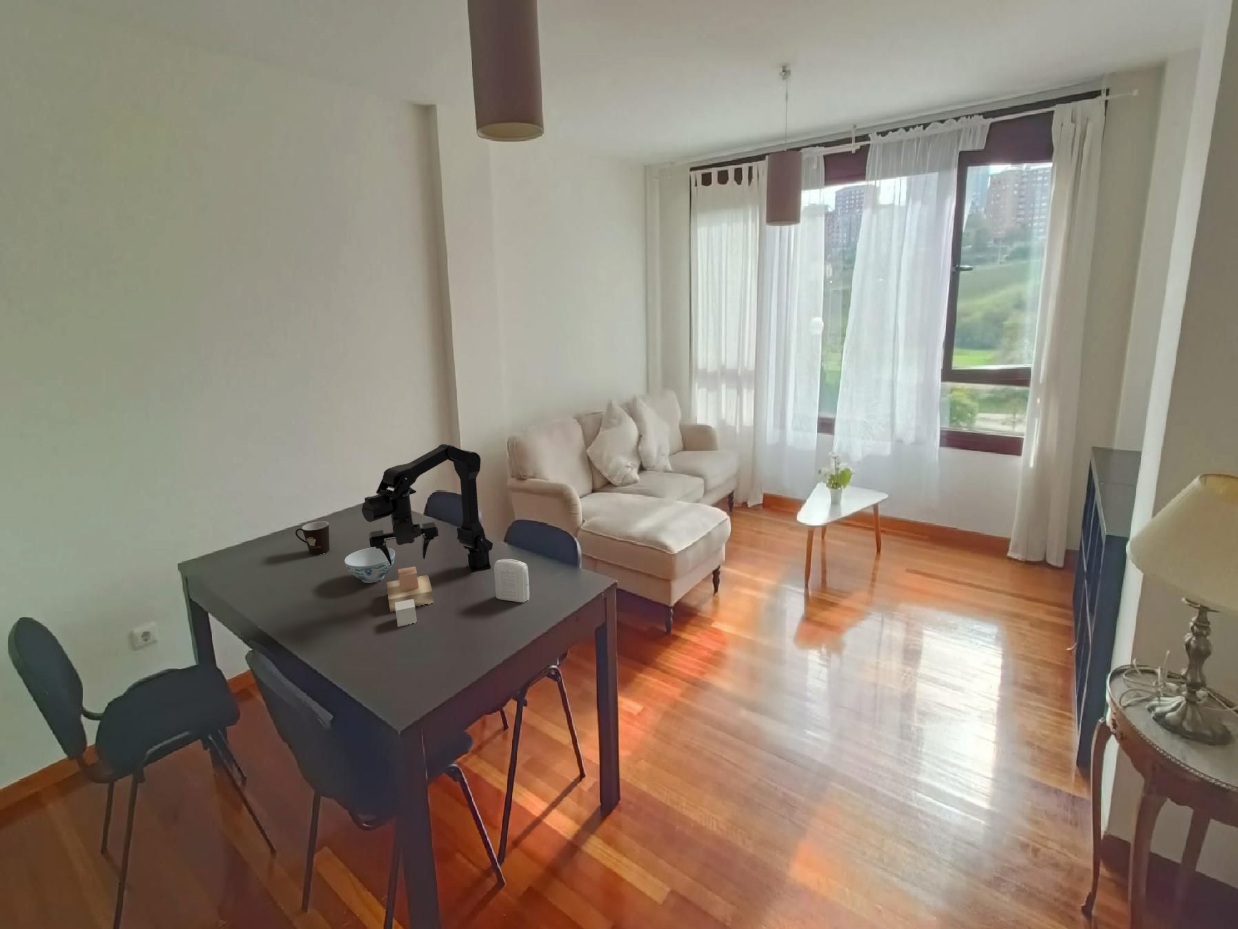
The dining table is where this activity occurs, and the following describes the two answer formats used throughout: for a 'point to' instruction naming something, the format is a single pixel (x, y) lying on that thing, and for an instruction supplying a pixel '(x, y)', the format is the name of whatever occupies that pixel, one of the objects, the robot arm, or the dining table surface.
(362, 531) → the dining table surface
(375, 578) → the chinaware
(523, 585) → the white rounded block
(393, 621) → the dining table surface
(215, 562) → the dining table surface
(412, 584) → the terracotta cube
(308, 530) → the coffee mug
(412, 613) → the grey cube
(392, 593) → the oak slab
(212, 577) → the dining table surface
